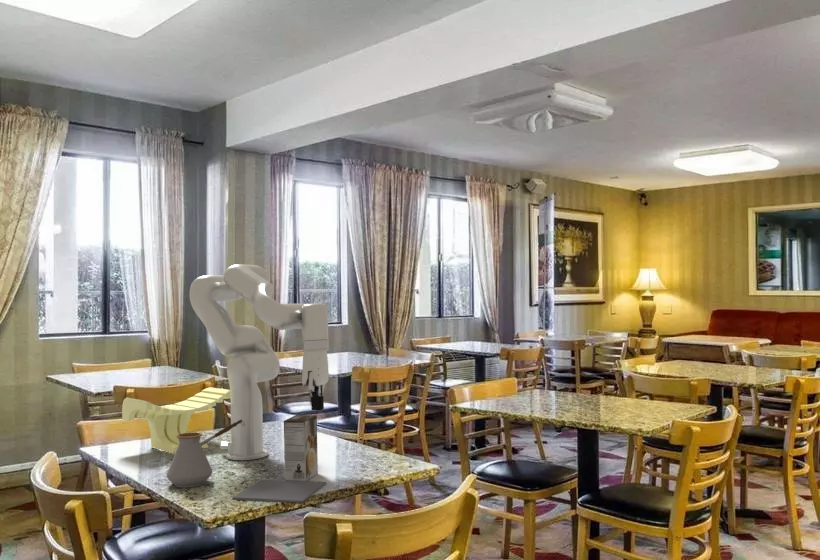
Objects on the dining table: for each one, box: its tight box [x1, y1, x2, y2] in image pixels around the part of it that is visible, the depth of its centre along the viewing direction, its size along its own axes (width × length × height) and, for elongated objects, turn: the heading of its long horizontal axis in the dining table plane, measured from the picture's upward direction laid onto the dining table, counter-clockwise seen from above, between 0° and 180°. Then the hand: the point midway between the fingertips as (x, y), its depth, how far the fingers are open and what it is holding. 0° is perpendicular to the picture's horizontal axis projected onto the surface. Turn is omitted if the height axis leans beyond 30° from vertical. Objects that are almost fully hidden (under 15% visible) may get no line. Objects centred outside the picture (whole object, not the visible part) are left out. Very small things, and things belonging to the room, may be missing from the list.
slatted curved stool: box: [121, 386, 231, 455], centre depth 228 cm, size 30×16×18 cm, turn 138°
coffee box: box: [283, 414, 319, 481], centre depth 187 cm, size 9×6×16 cm
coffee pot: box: [166, 420, 245, 488], centre depth 185 cm, size 21×12×15 cm, turn 129°
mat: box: [231, 478, 327, 504], centre depth 173 cm, size 18×17×1 cm
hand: (317, 409), depth 198 cm, fingers closed
